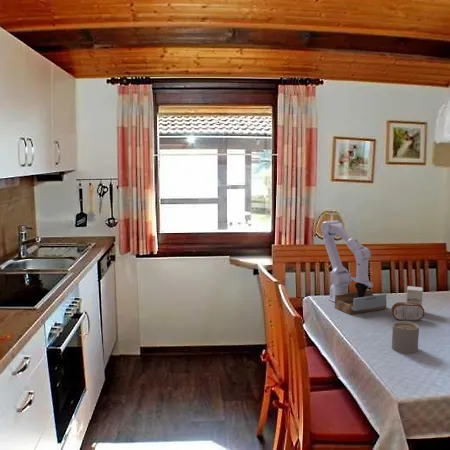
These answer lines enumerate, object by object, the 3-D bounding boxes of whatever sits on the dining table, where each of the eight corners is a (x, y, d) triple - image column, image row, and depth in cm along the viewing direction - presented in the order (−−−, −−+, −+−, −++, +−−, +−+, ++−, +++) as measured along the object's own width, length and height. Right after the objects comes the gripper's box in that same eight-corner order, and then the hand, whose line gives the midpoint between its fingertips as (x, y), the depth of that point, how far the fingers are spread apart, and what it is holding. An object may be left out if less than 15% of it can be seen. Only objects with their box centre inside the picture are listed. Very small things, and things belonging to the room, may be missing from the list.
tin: (422, 319, 239) (423, 302, 238) (424, 321, 236) (425, 304, 235) (390, 318, 241) (391, 301, 240) (392, 320, 238) (392, 303, 237)
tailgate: (352, 310, 247) (353, 298, 246) (384, 305, 255) (384, 293, 254) (355, 311, 246) (355, 299, 245) (386, 305, 254) (386, 294, 253)
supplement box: (405, 314, 247) (406, 289, 246) (406, 309, 254) (407, 285, 253) (421, 315, 245) (422, 290, 243) (421, 311, 252) (422, 286, 250)
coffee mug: (420, 354, 198) (422, 329, 196) (395, 353, 199) (396, 329, 197) (411, 341, 211) (412, 318, 210) (387, 340, 212) (388, 318, 211)
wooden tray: (334, 308, 257) (335, 294, 256) (370, 302, 267) (371, 289, 266) (349, 314, 247) (349, 300, 246) (386, 308, 257) (386, 295, 256)
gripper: (378, 273, 249) (377, 300, 251) (358, 268, 262) (358, 293, 264) (367, 275, 246) (366, 302, 248) (348, 269, 259) (347, 294, 261)
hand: (361, 297), depth 256 cm, fingers closed
